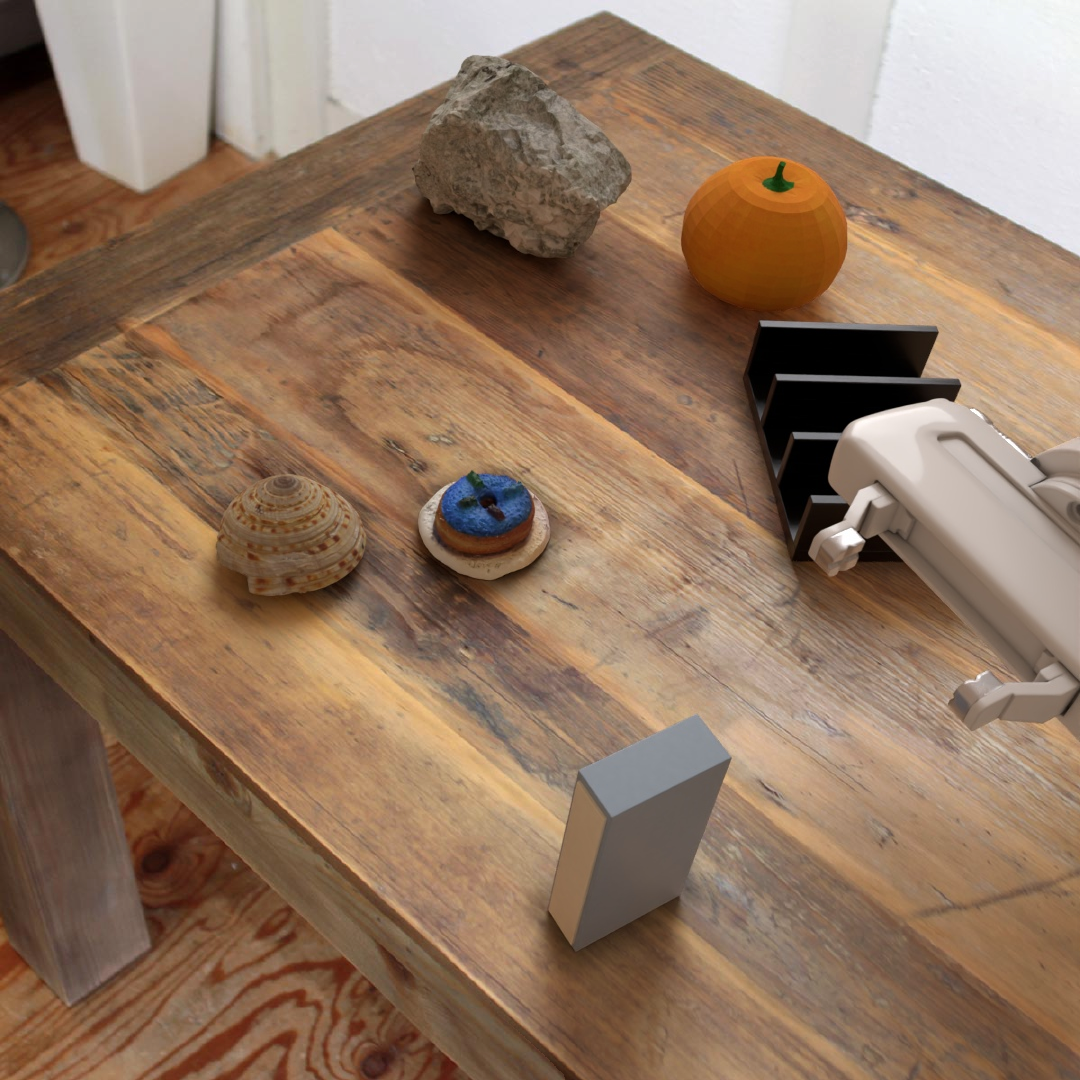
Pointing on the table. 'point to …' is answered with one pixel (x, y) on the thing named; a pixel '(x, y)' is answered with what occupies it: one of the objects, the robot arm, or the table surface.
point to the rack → (829, 409)
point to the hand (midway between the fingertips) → (888, 629)
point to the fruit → (765, 234)
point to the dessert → (484, 525)
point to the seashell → (290, 536)
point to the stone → (518, 159)
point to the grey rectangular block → (635, 829)
